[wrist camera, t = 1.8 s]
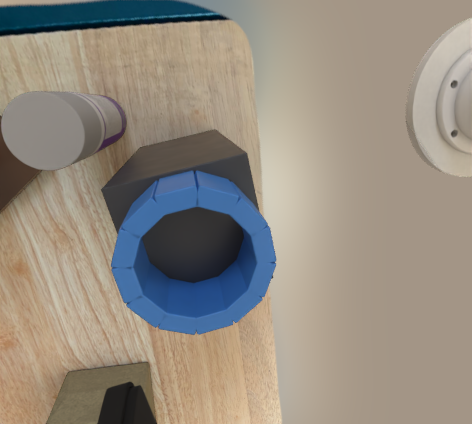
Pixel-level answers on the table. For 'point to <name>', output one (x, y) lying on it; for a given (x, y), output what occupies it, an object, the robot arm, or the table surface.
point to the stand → (12, 174)
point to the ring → (186, 293)
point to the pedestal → (190, 220)
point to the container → (60, 127)
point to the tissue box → (96, 392)
